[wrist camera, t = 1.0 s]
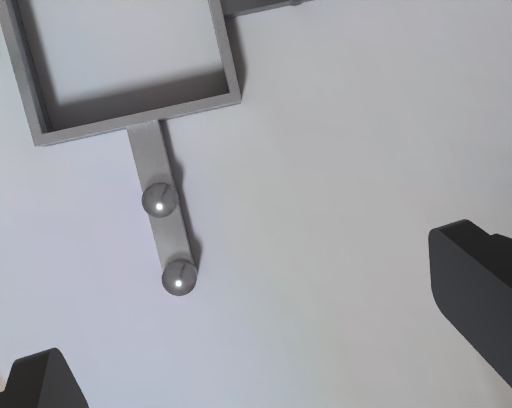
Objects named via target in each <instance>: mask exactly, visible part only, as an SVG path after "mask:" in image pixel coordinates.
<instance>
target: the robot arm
mask: <svg viewBox="0 0 512 408" xmlns="http://www.w3.org/2000/svg"><path fill="white" fill-rule="evenodd" d="M428 243H429V259H430V275H431V289H432V293H433V297H434V299H435V302H436V304H437V306H438V308H439V309H440V311H441V312H442V314H443V315H444V316H445V317H446V318H447V319H448V320H449V321H450V322H451V324H452V325H453V326H454V327H455V328H456V329H457V330H458V331H459V332H460V333H461V334H462V335H463V336H464V337H465V338H466V340H467V341H468V342H469V343H470V344H471V345H472V346H473V347H474V348H475V349H476V350H477V351H478V352H479V353H480V355H481V356H482V357H483V358H484V359H485V360H486V361H487V362H488V363H489V364H490V365H491V366H492V367H493V368H494V369H495V371H496V372H497V373H498V374H499V375H500V376H501V377H502V378H503V379H504V380H505V381H506V382H507V383H508V384H509V385H510V387H511V388H512V239H511V238H508V237H505V236H502V235H499V234H493V235H489V234H488V233H486V232H485V231H484V230H482V229H481V228H479V227H478V226H476V225H475V224H474V223H472V222H471V221H469V220H466V219H463V220H460V221H457V222H453V223H450V224H447V225H444V226H441V227H438V228H435V229H432V230H431V231H430V232H429V236H428ZM0 408H89V407H88V404H87V401H86V399H85V397H84V395H83V393H82V391H81V389H80V387H79V385H78V384H77V382H76V380H75V378H74V376H73V374H72V372H71V370H70V368H69V366H68V364H67V362H66V360H65V358H64V357H63V355H62V353H61V352H60V350H58V349H57V348H52V349H48V350H45V351H42V352H39V353H36V354H33V355H29V356H26V357H23V358H20V359H17V360H15V361H14V363H13V365H12V368H11V371H10V374H9V377H8V380H7V384H6V387H5V390H4V391H3V392H0Z"/></svg>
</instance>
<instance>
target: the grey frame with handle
mask: <svg viewBox="0 0 512 408" xmlns="http://www.w3.org/2000/svg"><path fill="white" fill-rule="evenodd" d="M307 1H312V0H208V2H209V7H210V11H211V15H212V20H213V24H214V29H215V33H216V38H217V42H218V47H219V51H220V55H221V60H222V64H223V69H224V73H225V78H226V82H227V87H228V91H229V93H227V94H223V95H218V96H214V97H209V98H205V99H200V100H196V101H191V102H186V103H182V104H177V105H173V106H168V107H164V108H159V109H155V110H150V111H145V112H141V113H136V114H132V115H127V116H123V117H118V118H114V119H109V120H104V121H100V122H95V123H91V124H86V125H82V126H77V127H73V128H68V129H63V130H59V131H54V132H52V129H51V125H50V121H49V118H48V114H47V110H46V107H45V103H44V99H43V96H42V92H41V88H40V85H39V81H38V77H37V74H36V70H35V66H34V63H33V59H32V55H31V52H30V48H29V44H28V41H27V37H26V33H25V30H24V26H23V22H22V19H21V15H20V11H19V8H18V4H17V0H0V23H1V27H2V30H3V34H4V38H5V41H6V45H7V48H8V52H9V56H10V59H11V63H12V66H13V70H14V74H15V77H16V81H17V84H18V88H19V92H20V95H21V99H22V102H23V106H24V110H25V113H26V117H27V120H28V124H29V128H30V131H31V135H32V138H33V142H34V145H35V146H50V145H55V144H59V143H64V142H68V141H73V140H77V139H82V138H87V137H91V136H96V135H100V134H105V133H109V132H114V131H118V130H123V129H127V132H128V136H129V140H130V144H131V148H132V152H133V156H134V160H135V164H136V168H137V172H138V176H139V180H140V184H141V188H142V192H143V195H142V205H143V208H144V209H145V211H146V212H147V213H148V215H149V219H150V223H151V227H152V231H153V235H154V239H155V243H156V247H157V251H158V255H159V259H160V263H161V267H162V271H163V274H162V284H163V286H164V288H165V289H166V291H168V292H169V293H170V294H172V295H176V296H182V295H186V294H188V293H189V292H191V291H192V290H193V288H194V287H195V284H196V280H197V274H198V271H197V267H196V265H195V263H194V260H193V256H192V252H191V248H190V244H189V240H188V236H187V232H186V228H185V223H184V219H183V215H182V211H181V207H180V203H179V193H178V191H177V189H176V187H175V183H174V178H173V174H172V170H171V166H170V162H169V158H168V154H167V150H166V146H165V142H164V138H163V133H162V129H161V125H160V121H164V120H168V119H173V118H177V117H182V116H186V115H191V114H195V113H200V112H204V111H209V110H213V109H218V108H222V107H227V106H232V105H236V104H241V102H242V99H241V94H240V90H239V85H238V81H237V76H236V72H235V67H234V63H233V58H232V54H231V49H230V45H229V40H228V36H227V31H226V26H225V22H224V19H227V18H232V17H237V16H241V15H246V14H251V13H255V12H260V11H265V10H269V9H274V8H279V7H284V6H288V5H291V6H296V5H299V4H301V3H303V2H307Z"/></svg>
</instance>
